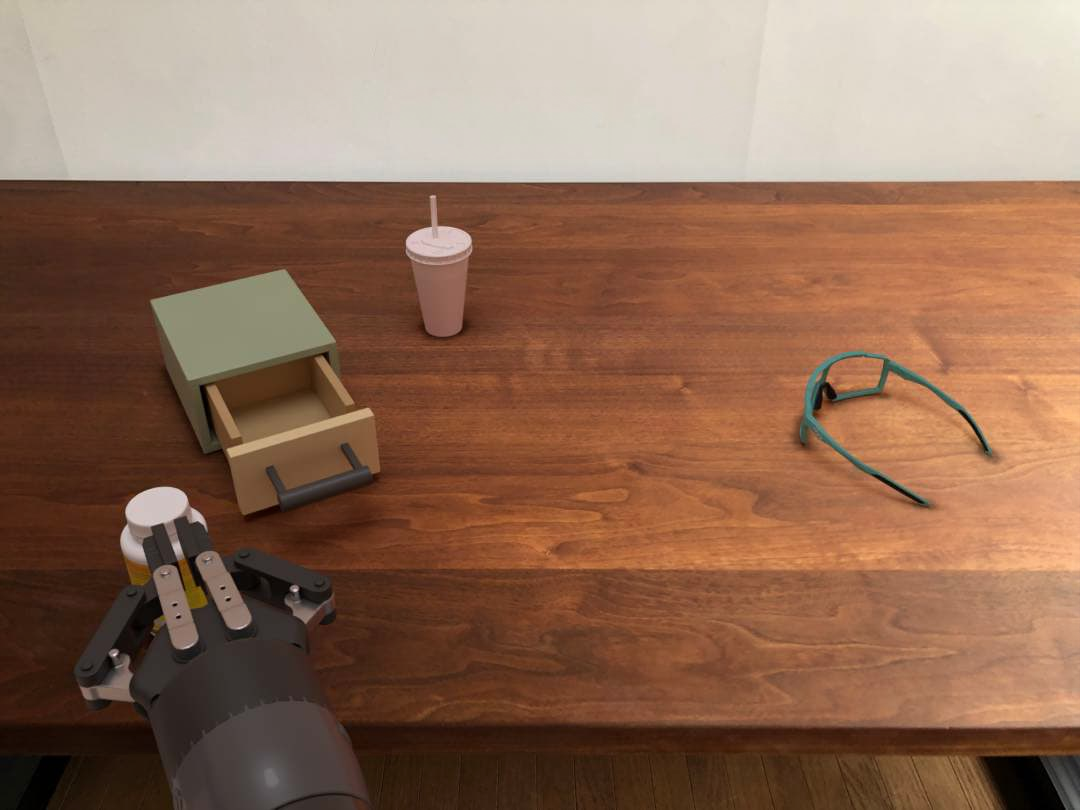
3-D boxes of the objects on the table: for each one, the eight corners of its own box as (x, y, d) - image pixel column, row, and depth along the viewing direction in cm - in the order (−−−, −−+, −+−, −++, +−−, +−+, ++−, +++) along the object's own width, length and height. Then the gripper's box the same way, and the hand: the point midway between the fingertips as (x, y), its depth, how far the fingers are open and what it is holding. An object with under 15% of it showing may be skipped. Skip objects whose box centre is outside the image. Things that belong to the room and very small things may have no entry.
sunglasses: (855, 372, 100) (869, 330, 96) (997, 458, 92) (1018, 415, 88) (762, 433, 92) (775, 389, 89) (909, 532, 84) (928, 487, 81)
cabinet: (345, 413, 94) (336, 341, 90) (204, 454, 89) (187, 380, 85) (295, 336, 105) (285, 268, 100) (166, 369, 100) (149, 299, 95)
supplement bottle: (227, 635, 73) (201, 525, 67) (143, 652, 72) (109, 541, 66) (223, 580, 78) (199, 472, 72) (144, 595, 76) (112, 486, 70)
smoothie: (451, 304, 110) (444, 178, 102) (488, 329, 106) (484, 200, 98) (399, 324, 107) (388, 196, 98) (435, 351, 103) (427, 220, 94)
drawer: (403, 507, 83) (398, 449, 79) (260, 555, 78) (248, 496, 75) (326, 388, 96) (318, 334, 92) (200, 423, 91) (187, 368, 88)
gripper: (123, 887, 45) (61, 622, 58) (411, 760, 51) (297, 542, 63) (79, 782, 41) (22, 520, 53) (399, 655, 46) (279, 443, 59)
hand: (171, 532), depth 58 cm, fingers closed
